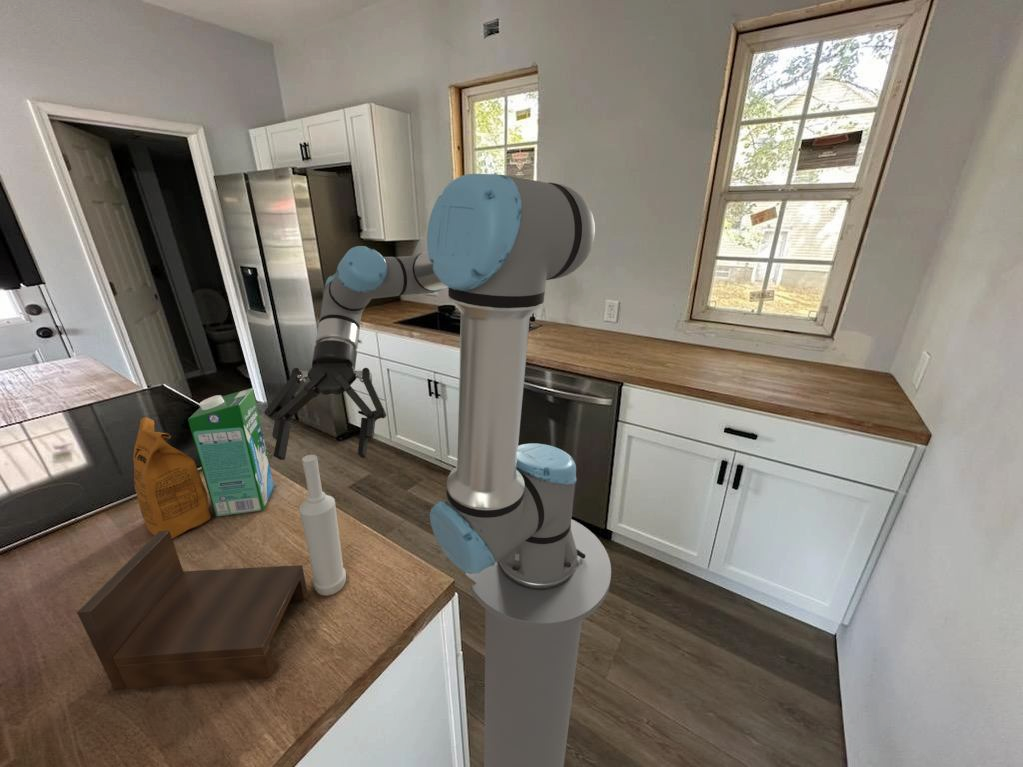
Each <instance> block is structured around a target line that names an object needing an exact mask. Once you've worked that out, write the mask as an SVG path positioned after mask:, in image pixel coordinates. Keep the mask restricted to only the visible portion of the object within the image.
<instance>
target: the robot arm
mask: <svg viewBox="0 0 1023 767" xmlns="http://www.w3.org/2000/svg"><path fill="white" fill-rule="evenodd" d="M434 202H435V203H434V205H433V206H432V207H433V208H432V210H431V212H430V216H429V220H428V224H427V233H426V246H427V247H426V248H427V250H426V251H423V252H420V253H417V254H414V255H406V256H405V255H404V256H383V255H382V254H381V253H380V252H378V251H377V250H376V249H373V248H369V247H368V246H365V245H357V246H353V247H351V248H350V249H348V250H347V251H346V253H345V255H343V257H342V258H341V259H340V261H339V263H338V265H337V268H336V271H335V273H334V274H333V275H329V276H328V278H327V279H326V281H325V285H324V289H323V290H322V301H321V303H322V304H321V308H320V315H319V321H318V324H317V332H316V337H315V345H314V348H313V349H314V350H313V355H312V360H311V368H310V369H309V370H300V369H299V368H298V367H294V368H293V369H292V371H291V373H290V375H289V378H288V380H287V381H286V382H285V384H284V385H283V387H282V388H281V389H280V390H279V391H278V393H277V394H276V396H275V397H274V398H273V400H272V401H271V402H270V404H269V405H268V406H267V407H266V409H265V410H264V412H263V413H264V415H265V416H266V417H268V418H269V419H270V420H272V421H274V423H273V429H272V434H271V436H272V438H273V439H274V440H276V441H275V445H274V451H273V457H275V458H277V459H278V460H280V461H285V460H286V456H287V450H288V446H289V440H290V434H291V428H292V423H291V422H290V419H291V418H293V417H294V416H295V415H296V414H297V413H298V412H299V411H300V410H302V409H303V408H304V407H305V406H306V405H307V404H308V403H309V402H310V401H311V400H312V399H314V398H317V397H318V396H319V395H320V394H322V395H323V396H326V395H340V396H341V395H342V394H343V393H344V392H345V393H346V394H347V395H348V397H349V398H350V399H351V400H352V401H353V402H354V404H355V405H356V406H357V407H358V408H359V410H360V411H361V412H362V413H363V414H364V416H365V417H361V419H360V421H361V422H360V430H359V438H358V447H357V455H358V456H359V457H360V458H362V459H365V458H367V451H368V443H369V442H368V441H369V439H374V436H375V430H376V429H375V428H376V422H377V420H380V419H385V418H387V412H386V410H385V408H384V406H383V403H382V402H381V399H380V397H379V394H378V393H377V390H376V388H375V387H374V384H373V375H372V373H371V371H370V369H369V368H368V367H364V368H362V369H361V370H356V365H357V358H358V357H357V356H358V351H357V350H358V346H359V340H360V328H361V321H362V315H363V312H364V310H365V309H366V307H367V306H368V305H369V303H370V302H371V301H372V300H373V299H381V298H382V299H383V298H390V297H391V298H392V297H400V296H409V295H410V296H411V295H420V294H422V295H423V294H434V293H438V292H442V291H443V290H444V289H447V290H448V291H447V292H448V293H447V294H448V295H447V297H448V299H449V301H450V302H451V303H452V304H453V305H454V306H455V307H456V308H457V309H458V310H459V312H460V326H459V327H460V329H459V330H460V331H459V335H460V336H459V367H458V368H459V373H458V374H459V375H458V383H459V384H458V417H457V418H458V420H457V457H456V458H457V460H456V461H457V465H456V467H455V468H453V469H452V470H451V471H450V473H449V474H448V476H447V478H446V490H445V491H446V495H445V499H444V500H442V501H438V502H436V504H435V505H433V506H432V507H431V509H430V512H429V523H430V526H431V529H432V533H433V536H434V538H435V540H436V541H437V543H438V545H439V547H440V549H441V551H442V552H443V553H444V554H445V556H446V557H447V559H448V560H449V561H450V562H451V563H452V564H453V565H454V566H456V568H457V569H459V570H460V571H462V572H463V573H464V572H466V573H470V574H477V573H479V572H481V571H483V570H484V569H486V568H487V567H489V566H493V565H494V564H495V563H496V562H497V561H498V564H499V567H500V569H501V571H502V572H503V574H504V575H505V576H506V577H507V578H508V579H509V580H511V581H512V582H514V583H515V584H517V585H519V586H522V587H525V588H528V589H534V590H547V589H553V588H556V587H559V586H561V585H563V584H564V583H566V582H567V581H568V580H569V579H570V578H571V577H572V576H573V574H574V573H575V570H576V566H577V555H578V556H579V557H581V558H583V559H584V558H585V556H586V555H585V554H583V553H582V552H580V551H579V550H578V549H576V545H575V542H574V538H573V535H572V531H571V519H572V517H573V509H574V501H575V500H574V499H575V491H576V484H577V479H578V478H577V465H576V462H575V460H574V458H573V457H572V456H571V455H570V454H569V453H567V451H564V450H563V449H561V448H558V447H556V446H553V445H549V444H545V443H536V442H535V443H533V442H531V443H523V444H520V445H519V440H520V431H521V421H522V420H521V419H522V407H523V397H524V387H525V386H524V384H525V375H526V364H527V352H528V344H529V343H528V342H529V341H528V340H529V330H530V322H531V320H530V319H531V316H532V315H533V314H534V313H535V312H536V311H538V310H539V309H540V308H542V306H544V303H545V293H546V286H547V281H550V280H555V279H556V280H557V279H560V278H563V277H566V276H569V275H571V274H572V273H574V272H576V270H578V269H579V268H580V267H581V266H582V265H583V264H584V263H585V261H587V258H588V257H589V255H590V253H591V252H592V248H593V246H594V242H595V235H596V227H595V226H596V222H595V219H594V214H593V212H592V210H591V207H590V206H589V204H588V203H587V201H586V200H585V199H584V198H583V196H582V195H581V194H579V192H577V191H576V190H575V189H573V188H572V187H569V186H567V185H564V184H562V183H555V182H545V181H540V180H533V179H530V178H529V179H528V178H523V177H518V176H517V177H516V176H511V175H506V174H499V173H496V172H494V173H466V174H463V175H460V176H458V177H456V178H455V179H453V180H452V181H451V182H450V183H448V184H447V185H446V186H445V187H444V188H443V191H442V192H441V194H440V195H439V196H437V199H436V200H435V201H434ZM307 379H309V381H308V382H307V383H306V380H307ZM357 379H358V380H359V381H360V382H361V383H363V384H364V387H365V389H366V392H367V393H368V395H369V397H370V401H371V402H372V405H373V406H374V408H375V410H371V408H370V407H369V405H367V404H366V403H365V401H364V400H363V399H362V398H361V397H360V396H359V394H358V393H357V392H356V390H355V389H354V388H353V387H352V386H351V385H352V384H353V383H354V382H355V381H356V380H357ZM304 383H306V384H305V385H304V386H303V389H301V390H300V391H299V392H298V390H299V389H300V388H301V386H302V384H304ZM297 392H298V393H297ZM296 393H297V394H296ZM295 394H296V395H295ZM572 520H573V519H572Z"/></svg>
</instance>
